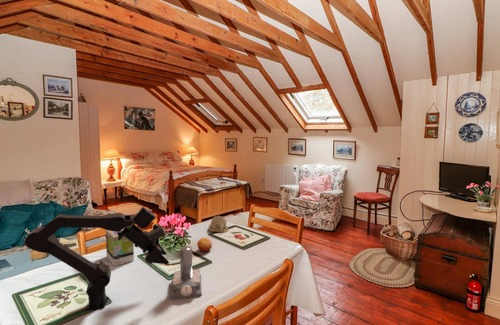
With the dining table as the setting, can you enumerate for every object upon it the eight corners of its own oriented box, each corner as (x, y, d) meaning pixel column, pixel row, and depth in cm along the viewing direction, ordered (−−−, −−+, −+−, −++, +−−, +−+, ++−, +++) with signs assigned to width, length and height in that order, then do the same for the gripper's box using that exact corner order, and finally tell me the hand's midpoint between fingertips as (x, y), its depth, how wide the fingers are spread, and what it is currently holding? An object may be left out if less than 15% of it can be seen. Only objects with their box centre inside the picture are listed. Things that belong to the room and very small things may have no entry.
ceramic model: (229, 227, 192) (229, 213, 191) (228, 232, 181) (228, 218, 180) (209, 227, 192) (209, 213, 191) (207, 232, 181) (207, 218, 180)
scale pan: (200, 287, 112) (200, 281, 112) (172, 290, 110) (172, 284, 109) (199, 274, 123) (199, 269, 122) (174, 276, 120) (174, 271, 120)
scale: (201, 296, 108) (201, 284, 108) (170, 299, 106) (170, 287, 105) (200, 276, 123) (200, 266, 123) (173, 279, 121) (173, 268, 120)
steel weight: (189, 280, 113) (188, 251, 112) (178, 278, 114) (177, 250, 113) (194, 274, 118) (193, 246, 117) (183, 273, 119) (183, 245, 118)
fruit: (203, 243, 159) (207, 233, 155) (210, 253, 155) (215, 243, 152) (192, 247, 152) (196, 237, 149) (200, 257, 149) (204, 247, 145)
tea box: (134, 260, 139) (133, 233, 137) (113, 266, 132) (112, 237, 131) (125, 251, 150) (124, 225, 149) (106, 256, 144) (104, 229, 142)
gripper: (154, 228, 99) (184, 252, 105) (151, 214, 116) (177, 235, 122) (131, 252, 97) (164, 275, 103) (131, 234, 114) (159, 255, 120)
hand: (167, 258), depth 112 cm, fingers open, 9 cm apart
